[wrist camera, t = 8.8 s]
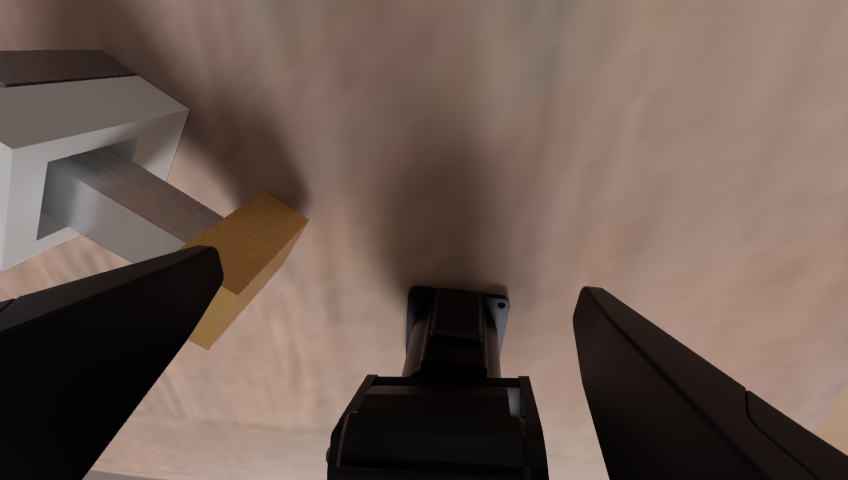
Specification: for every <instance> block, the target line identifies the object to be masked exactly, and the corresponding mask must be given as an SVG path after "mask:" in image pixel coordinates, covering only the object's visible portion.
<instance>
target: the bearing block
mask: <svg viewBox="0 0 848 480" xmlns="http://www.w3.org/2000/svg"><path fill="white" fill-rule="evenodd" d="M189 110H190V109H188V108H187V107H185V106H184V105H182V104H181V103H179V102H178V101H176V100H175V99H173V98H172V97H170V96H169V95H167V94H166V93H164V92H163V91H161V90H159V89H158V88H156V87H155V86H153V85H152V84H150V83H149V82H147V81H146V80H144V79H143V78H141V77H140V76H129V77H118V78H107V79H96V80H85V81H74V82H63V83H52V84H41V85H30V86H18V87H7V88H0V271H1V272H2V271H4V270H7V269H9V268H11V267H13V266H15V265H17V264H19V263H21V262H23V261H25V260H27V259H30V258H32V257H34V256H36V255H38V254H40V253H42V252H44V251H46V250H48V249H50V248H52V247H55V246H57V245H59V244H61V243H63V242H65V241H67V240H69V239H71V238H73V237H75V236H78V235H80V233H78V232H76V231H74V230H72V229H71V228H69V227H67V226H65V225H64V224H62V223H60V222H58V221H57V220H55V219H53V218H51V217H49V216H48V215H46V214H44V213H42V212H41V204H42V197H43V191H44V184H45V177H46V170H47V163H48V162H49V161H53V160H57V159H60V158H64V157H68V156H71V155H75V154H79V153H82V152H86V151H90V150H93V149H97V148H101V147H104V146H109V147H110V148H112V149H113V150H115V151H117V152H118V153H120V154H122V155H123V156H125V157H126V158H128V159H130V160H131V161H133V162H135V163H136V164H138V165H139V166H141V167H143V168H144V169H146V170H148V171H149V172H151V173H152V174H154V175H156V176H157V177H159V178H161V179H162V180H164V181H165V182H166V179H167V176H168V173H169V170H170V167H171V164H172V161H173V158H174V155H175V152H176V149H177V146H178V143H179V140H180V137H181V134H182V131H183V128H184V125H185V122H186V119H187V116H188V113H189Z"/></svg>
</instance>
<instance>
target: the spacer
mask: <svg viewBox="0 0 848 480" xmlns="http://www.w3.org/2000/svg"><path fill="white" fill-rule="evenodd" d="M129 76H136V73H135V72H133V71H132V70H130V69H129V68H127V67H126V66H124V65H123V64H121V63H120V62H118V61H117V60H115V59H114V58H112V57H110V56H109V55H107V54H106V53H104V52H103V51H101V50H34V51H0V88H7V87H18V86H30V85H41V84H52V83H63V82H74V81H85V80H96V79H107V78H118V77H129Z"/></svg>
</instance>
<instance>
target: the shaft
mask: <svg viewBox="0 0 848 480" xmlns="http://www.w3.org/2000/svg"><path fill="white" fill-rule="evenodd" d="M41 212H42V213H44V214H46V215H48V216H49V217H51V218H53V219H55V220H57V221H58V222H60V223H62V224H64V225H65V226H67V227H69V228H71V229H72V230H74V231H76V232H78V233H80V234H81V235H83V236H85V237H87V238H88V239H90V240H92V241H94V242H95V243H97V244H99V245H101V246H103V247H104V248H106V249H108V250H110V251H111V252H113V253H115V254H117V255H119V256H120V257H122V258H124V259H126V260H127V261H129V262H131V263H133V264H134V263H138V262H141V261H145V260H148V259H152V258H155V257H159V256H162V255H165V254H169V253H172V252H176V251H179V250H183V249H186V248H190V247H193V246H197V245H204V246H213V247H215V248H216V249H217V250H218V252H219V256H220V260H221V264H222V268H223V272H224V280H223V283H222V285H221V287H220V288H219V290H218V292H217V293H216V295H215V297H214V298H213V300H212V302H211V303H210V305H209V307H208V308H207V310H206V312H205V313H204V315H203V317H202V318H201V320H200V322H199V323H198V325H197V326H196V328H195V329H194V331H193V333H192V334H191V335H190V337H189V338H188V340H190V341H192V342H194V343H195V344H197V345H199V346H201V347H203V348H205V349H207V350H209V348H210V347H211V346H212V345H213V344H214V343H215V342H216V340H217V339H218V338H219V337H220V336H221V335H222V334H223V332H224V331H225V330H226V329H227V328H228V327H229V326H230V324H231V323H232V322H233V321H234V320H235V319H236V318H237V316H238V315H239V314H240V313H241V312H242V311H243V310H244V308H245V307H246V306H247V305H248V304H249V303H250V302H251V300H252V299H253V298H254V297H255V296H256V295H257V294H258V292H259V291H260V290H261V289H262V288H263V287H264V286H265V284H266V283H267V282H268V281H269V280H270V279H271V278H272V276H273V275H274V274H275V273H276V272H277V271H278V270H279V268H280V267H281V266H282V265H283V263H284V262H285V260H286V258H287V257H288V255H289V253H290V252H291V250H292V248H293V247H294V245H295V243H296V241H297V240H298V238H299V236H300V235H301V233H302V231H303V230H304V228H305V226H306V225H307V223H308V221H309V219H307V218H306V217H304V216H302V215H301V214H299V213H298V212H296V211H295V210H293V209H292V208H290V207H288V206H287V205H285V204H284V203H282V202H281V201H279V200H278V199H276V198H274V197H273V196H271V195H270V194H268V193H267V192H265V191H263V192H261V193H260V194H258V195H257V196H255V197H254V198H253V199H251V200H250V201H248V202H247V203H245V204H244V205H242V206H241V207H240V208H238V209H237V210H235V211H234V212H232V213H231V214H229V215H228V216H226V217H225V218H224V217H222V216H221V215H219V214H217V213H216V212H214V211H213V210H211V209H209V208H208V207H206V206H204V205H203V204H201V203H200V202H198V201H196V200H195V199H193V198H191V197H190V196H188V195H187V194H185V193H183V192H182V191H180V190H178V189H177V188H175V187H174V186H172V185H170V184H169V183H167V182H165V181H164V180H162V179H161V178H159V177H157V176H156V175H154V174H152V173H151V172H149V171H148V170H146V169H144V168H143V167H141V166H139V165H138V164H136V163H135V162H133V161H131V160H130V159H128V158H126V157H125V156H123V155H122V154H120V153H118V152H117V151H115V150H113V149H112V148H110V147H109V146H104V147H101V148H97V149H93V150H90V151H86V152H82V153H79V154H75V155H71V156H68V157H64V158H60V159H57V160H53V161H49V162H48V163H47V170H46V177H45V184H44V191H43V197H42V204H41Z"/></svg>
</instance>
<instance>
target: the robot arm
mask: <svg viewBox="0 0 848 480" xmlns="http://www.w3.org/2000/svg"><path fill="white" fill-rule="evenodd" d="M223 280H224V272H223V268H222V264H221V260H220V256H219V252H218V250H217V249H216V248H215V247H213V246H204V245H197V246H193V247H190V248H186V249H183V250H179V251H176V252H172V253H169V254H165V255H162V256H159V257H155V258H152V259H148V260H145V261H141V262H138V263H134V264H131V265H127V266H124V267H120V268H117V269H114V270H110V271H107V272H103V273H100V274H96V275H93V276H89V277H86V278H82V279H79V280H75V281H72V282H69V283H65V284H62V285H58V286H55V287H51V288H48V289H44V290H41V291H37V292H34V293H30V294H27V295H24V296H20V297H18V298H17V299H9V300H6V301H3V302H0V480H82V479H83V478H84V476H85V475H86V474H87V473H88V471H89V470H90V469H91V467H92V466H93V465H94V463H95V462H96V461H97V459H98V458H99V457H100V455H101V454H102V453H103V451H104V450H105V449H106V447H107V446H108V445H109V443H110V442H111V441H112V439H113V438H114V437H115V435H116V434H117V433H118V431H119V430H120V429H121V427H122V426H123V425H124V423H125V422H126V421H127V419H128V418H129V417H130V415H131V414H132V413H133V411H134V410H135V409H136V407H137V406H138V405H139V403H140V402H141V401H142V399H143V398H144V397H145V395H146V394H147V393H148V391H149V390H150V389H151V387H152V386H153V385H154V384H155V382H156V381H157V380H158V378H159V377H160V376H161V374H162V373H163V372H164V370H165V369H166V368H167V366H168V365H169V364H170V362H171V361H172V360H173V358H174V357H175V356H176V354H177V353H178V352H179V350H180V349H181V348H182V346H183V345H184V344H185V342H186V341H187V340H188V338H189V337H190V335H191V334H192V333H193V331H194V329H195V328H196V326H197V325H198V323H199V322H200V320H201V318H202V317H203V315H204V313H205V312H206V310H207V308H208V307H209V305H210V303H211V302H212V300H213V298H214V297H215V295H216V293H217V292H218V290H219V288H220V287H221V285H222V283H223ZM413 293H418V294H419V295H414V294H413ZM500 302H503V303H504V304H503V305H499V304H498V303H500ZM508 311H509V300H508V298H507V297H506V296H503V295H495V294H485V293H478V292H473V291H464V290H455V289H446V288H431V287H422V286H413V287H411V288H410V289H409V293H408V309H407V340H406V359H405V364H404V368H403V373H402V377H378V375H369V374H368V375H367V376H366V378H365V379H364V381H363V383H362V384H361V386H360V387H359V389H358V391H357V392H356V394H355V395H354V397H353V399H352V400H351V402H350V403H349V405H348V406H347V408H346V410H345V411H344V413H343V414H342V416H341V418H340V420H339V421H338V423H337V425H336V427H335V428H334V430H333V432H332V434H331V442H330V447H329V448H328V450H327V453H326V461H327V463H328V468H327V480H549V475H548V465H547V456H546V449H545V442H544V436H543V431H542V426H541V422H540V418H539V414H538V410H537V406H536V402H535V398H534V395H533V391H532V387H531V383H530V379H529V376H518V378H501V372H500V359H499V358H500V352H501V347H502V342H503V337H504V332H505V327H506V322H507V317H508ZM573 327H574V334H575V340H576V347H577V353H578V360H579V366H580V372H581V378H582V383H583V387H584V391H585V395H586V398H587V402H588V405H589V409H590V412H591V416H592V419H593V423H594V426H595V430H596V433H597V437H598V440H599V444H600V447H601V451H602V455H603V458H604V462H605V465H606V469H607V472H608V476H609V479H610V480H848V456H847V455H845V454H844V453H842V452H841V451H839V450H838V449H836V448H835V447H833V446H832V445H830V444H828V443H827V442H825V441H824V440H822V439H821V438H819V437H818V436H816V435H814V434H813V433H811V432H810V431H808V430H807V429H805V428H804V427H802V426H801V425H799V424H798V423H796V422H795V421H793V420H792V419H790V418H789V417H787V416H786V415H784V414H783V413H781V412H780V411H778V410H777V409H775V408H774V407H773V406H771V405H770V404H768V403H767V402H765V401H764V400H762V399H761V398H760V397H758V396H757V395H755V394H754V393H752V392H751V391H746V388H745V387H744V386H742V385H741V384H739V383H738V382H736V381H735V380H734V379H732V378H731V377H729V376H728V375H726V374H725V373H724V372H722V371H721V370H719V369H718V368H716V367H715V366H713V365H712V364H711V363H709V362H708V361H706V360H705V359H703V358H702V357H701V356H699V355H698V354H696V353H695V352H693V351H692V350H690V349H689V348H688V347H686V346H685V345H683V344H682V343H680V342H679V341H678V340H676V339H675V338H673V337H672V336H670V335H669V334H667V333H666V332H665V331H663V330H662V329H660V328H659V327H657V326H656V325H654V324H653V323H652V322H650V321H649V320H647V319H646V318H644V317H643V316H642V315H640V314H639V313H637V312H636V311H634V310H633V309H631V308H630V307H629V306H627V305H626V304H624V303H623V302H621V301H620V300H619V299H617V298H616V297H614V296H613V295H611V294H610V293H608V292H607V291H606V290H604V289H603V288H599V287H589V286H585V287H583V288H582V289H581V291H580V294H579V298H578V301H577V304H576V308H575V311H574V315H573Z"/></svg>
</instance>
